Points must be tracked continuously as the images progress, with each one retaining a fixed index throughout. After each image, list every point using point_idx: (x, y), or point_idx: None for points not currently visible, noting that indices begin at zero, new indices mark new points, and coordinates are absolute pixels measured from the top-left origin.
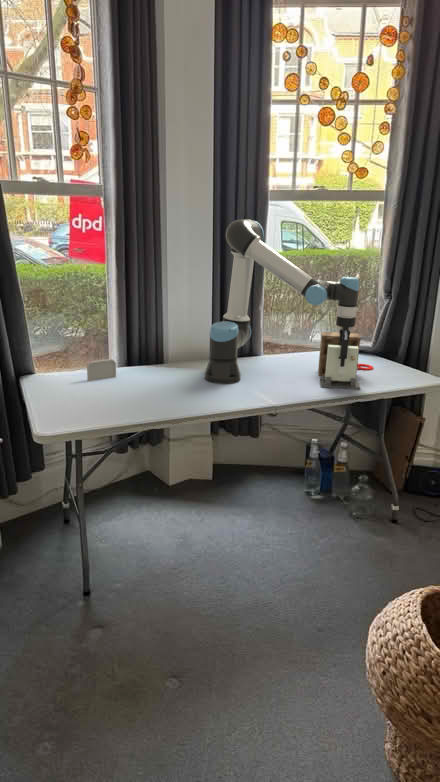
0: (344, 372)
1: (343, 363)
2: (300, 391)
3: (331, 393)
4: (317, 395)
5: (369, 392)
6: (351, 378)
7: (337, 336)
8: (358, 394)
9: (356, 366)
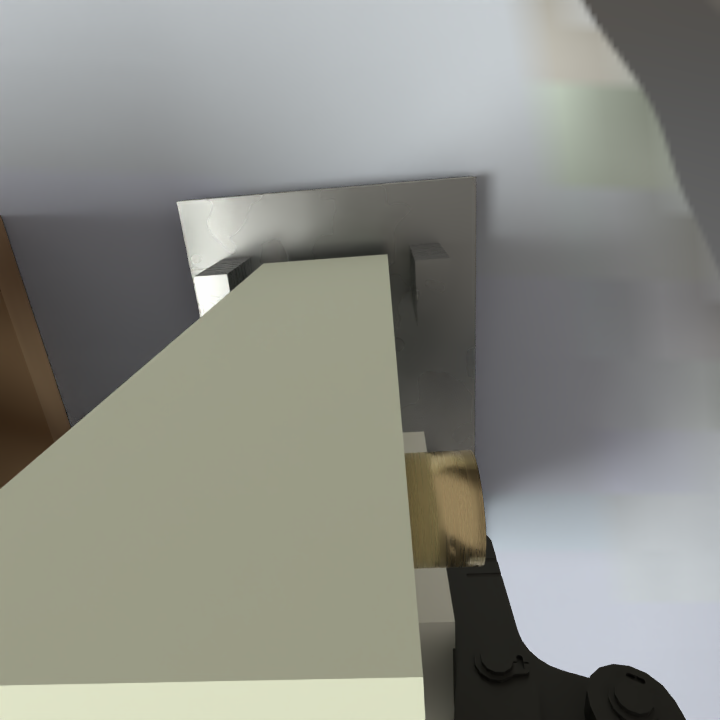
0: (425, 446)
1: (501, 585)
2: None
3: (645, 464)
4: (714, 565)
5: (555, 56)
6: (425, 318)
7: None
8: (653, 203)
9: (390, 316)
